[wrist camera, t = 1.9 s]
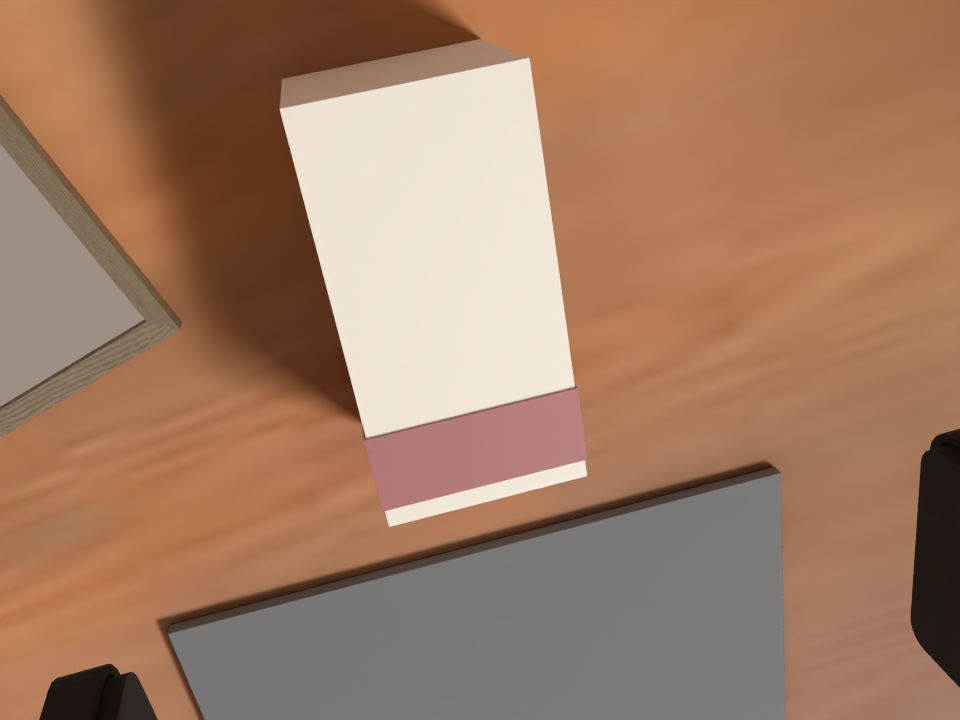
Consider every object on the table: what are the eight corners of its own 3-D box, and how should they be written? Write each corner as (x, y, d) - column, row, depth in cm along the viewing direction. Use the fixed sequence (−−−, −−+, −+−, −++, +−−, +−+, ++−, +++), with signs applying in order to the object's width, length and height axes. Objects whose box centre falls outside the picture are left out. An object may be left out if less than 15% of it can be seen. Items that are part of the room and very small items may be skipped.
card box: (280, 78, 22) (277, 109, 17) (482, 38, 22) (532, 57, 17) (370, 428, 26) (387, 528, 21) (537, 387, 26) (589, 476, 22)
